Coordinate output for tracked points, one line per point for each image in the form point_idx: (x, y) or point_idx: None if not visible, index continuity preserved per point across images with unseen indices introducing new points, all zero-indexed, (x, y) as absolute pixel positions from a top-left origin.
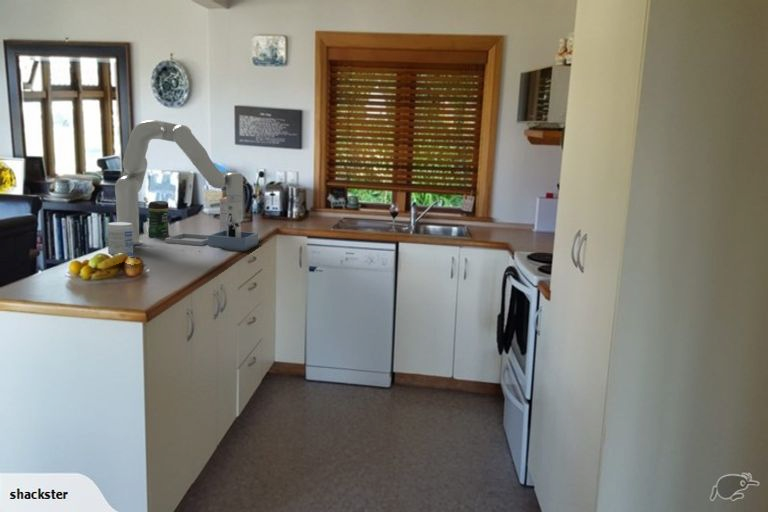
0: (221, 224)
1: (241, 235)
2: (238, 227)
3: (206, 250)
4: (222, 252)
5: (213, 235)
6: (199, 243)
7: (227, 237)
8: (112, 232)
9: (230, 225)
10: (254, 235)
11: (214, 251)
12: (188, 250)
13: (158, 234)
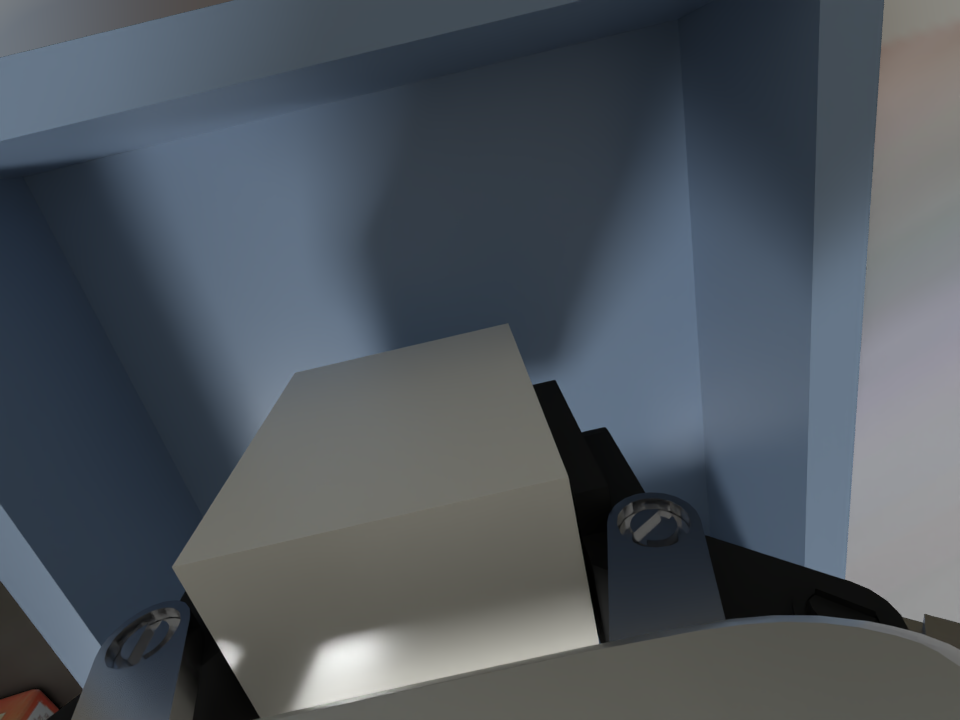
0: None
1: (88, 501)
2: (439, 497)
3: (880, 466)
4: (944, 232)
5: None
6: None
7: (848, 381)
8: None
9: (935, 617)
10: (43, 57)
11: (909, 359)
12: (950, 589)
13: None
